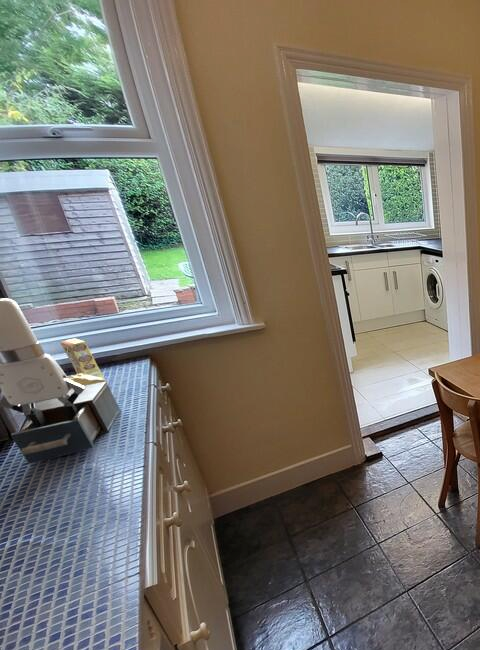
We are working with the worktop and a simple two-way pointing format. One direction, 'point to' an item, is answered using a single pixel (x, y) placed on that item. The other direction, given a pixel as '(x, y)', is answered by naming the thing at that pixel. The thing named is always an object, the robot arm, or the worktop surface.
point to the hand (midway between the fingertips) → (58, 422)
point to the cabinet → (98, 400)
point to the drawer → (58, 434)
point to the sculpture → (85, 379)
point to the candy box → (81, 357)
